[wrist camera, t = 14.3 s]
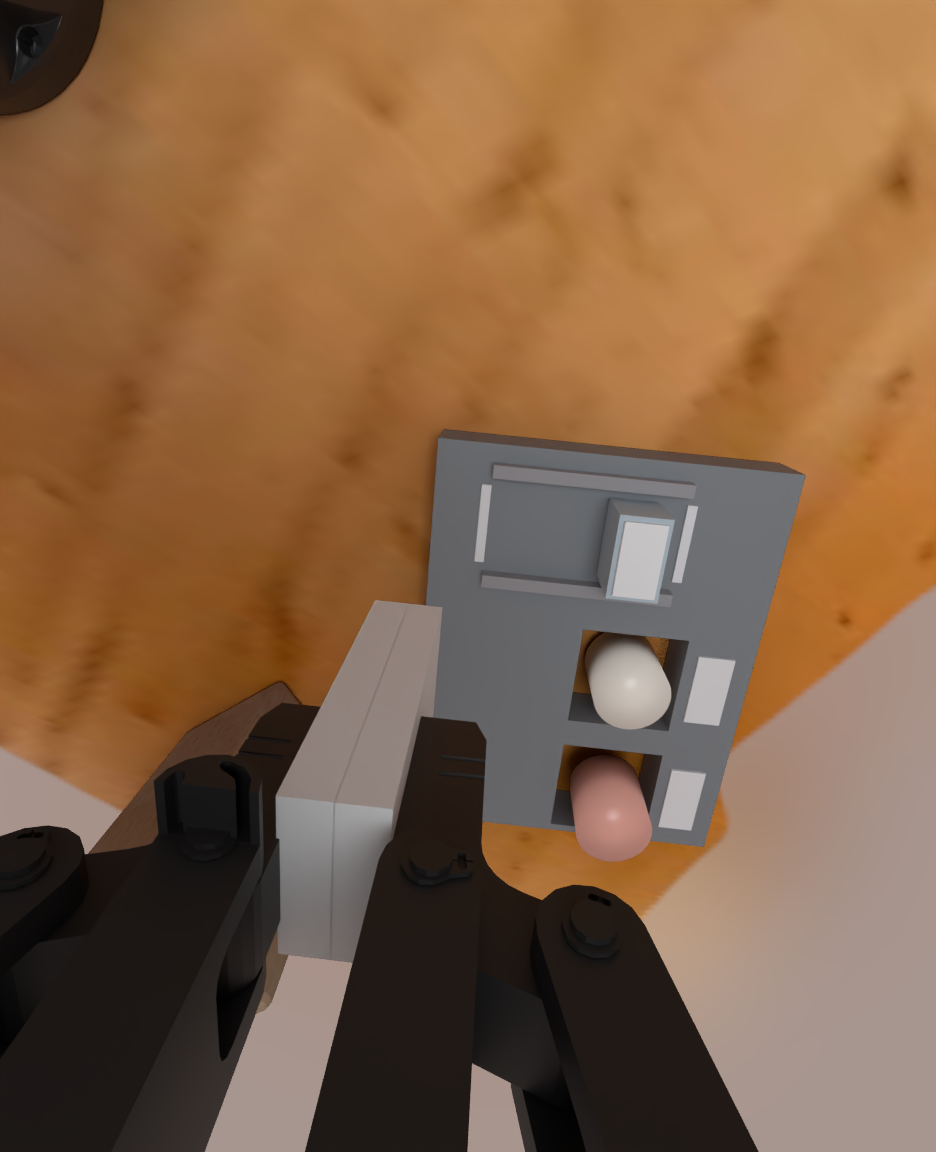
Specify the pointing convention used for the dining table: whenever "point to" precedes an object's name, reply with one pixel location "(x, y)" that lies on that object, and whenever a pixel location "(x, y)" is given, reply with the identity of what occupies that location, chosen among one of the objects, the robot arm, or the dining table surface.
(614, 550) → the slider knob
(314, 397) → the dining table surface
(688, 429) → the dining table surface
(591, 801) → the button coral
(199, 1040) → the robot arm
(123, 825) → the wooden block
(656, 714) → the button ivory
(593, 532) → the console
